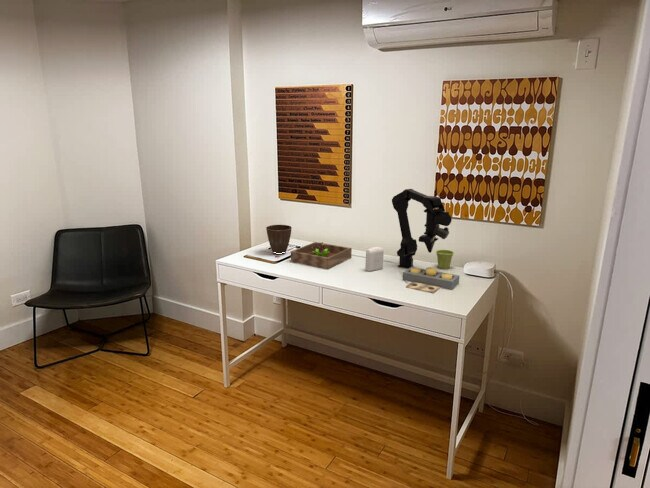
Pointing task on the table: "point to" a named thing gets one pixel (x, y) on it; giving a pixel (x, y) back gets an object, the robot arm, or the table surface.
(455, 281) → the board
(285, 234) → the plant pot
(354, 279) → the table surface
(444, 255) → the plant pot
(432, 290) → the card
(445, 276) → the button
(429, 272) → the button
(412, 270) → the button
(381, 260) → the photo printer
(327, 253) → the plant
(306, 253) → the brown wooden tray
